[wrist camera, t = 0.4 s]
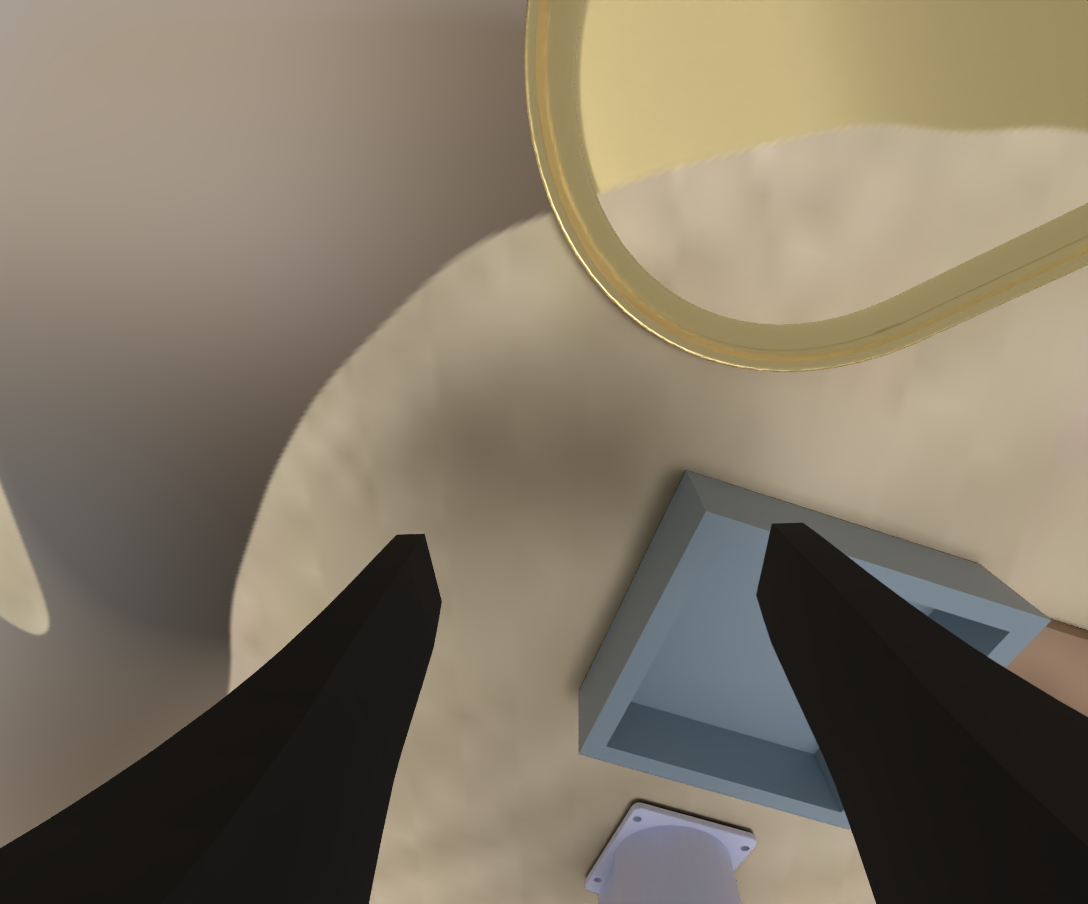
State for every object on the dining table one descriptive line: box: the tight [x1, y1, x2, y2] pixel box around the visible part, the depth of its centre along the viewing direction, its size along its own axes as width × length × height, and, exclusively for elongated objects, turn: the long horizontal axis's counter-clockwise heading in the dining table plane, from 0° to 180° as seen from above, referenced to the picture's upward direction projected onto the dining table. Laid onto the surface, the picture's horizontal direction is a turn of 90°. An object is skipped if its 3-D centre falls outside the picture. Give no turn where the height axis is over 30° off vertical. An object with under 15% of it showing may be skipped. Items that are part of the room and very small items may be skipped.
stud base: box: [1006, 619, 1088, 717], centre depth 23 cm, size 13×13×4 cm
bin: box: [579, 470, 1051, 830], centre depth 22 cm, size 14×14×4 cm
